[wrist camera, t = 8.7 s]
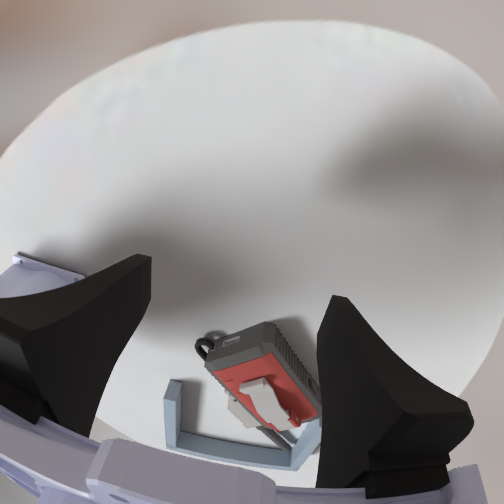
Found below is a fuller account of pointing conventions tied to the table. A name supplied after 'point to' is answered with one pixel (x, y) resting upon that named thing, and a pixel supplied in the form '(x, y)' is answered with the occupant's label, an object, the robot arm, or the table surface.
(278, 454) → the grey pronged cradle
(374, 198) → the table surface
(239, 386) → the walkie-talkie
